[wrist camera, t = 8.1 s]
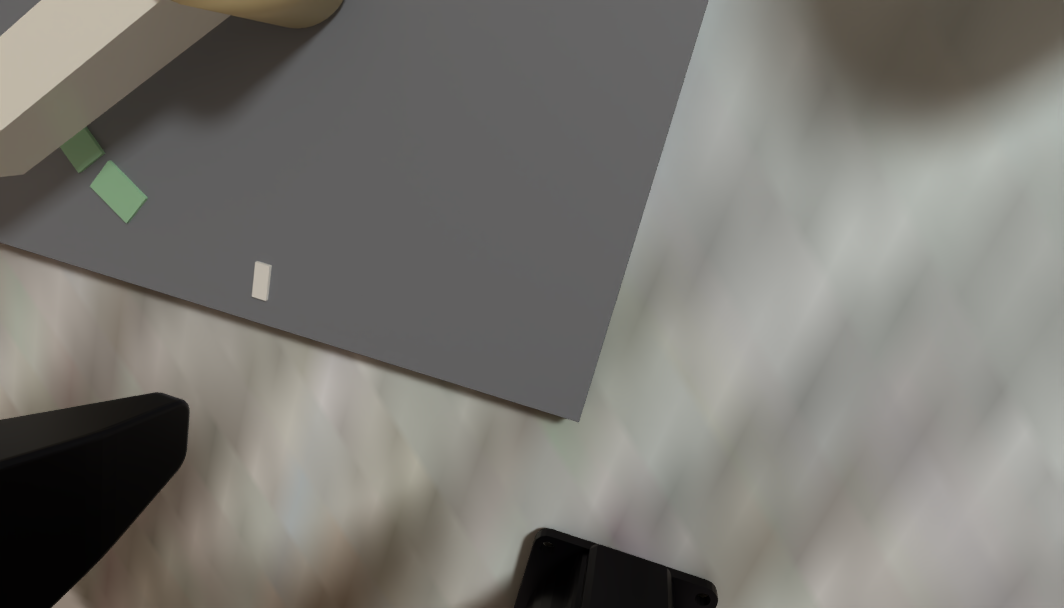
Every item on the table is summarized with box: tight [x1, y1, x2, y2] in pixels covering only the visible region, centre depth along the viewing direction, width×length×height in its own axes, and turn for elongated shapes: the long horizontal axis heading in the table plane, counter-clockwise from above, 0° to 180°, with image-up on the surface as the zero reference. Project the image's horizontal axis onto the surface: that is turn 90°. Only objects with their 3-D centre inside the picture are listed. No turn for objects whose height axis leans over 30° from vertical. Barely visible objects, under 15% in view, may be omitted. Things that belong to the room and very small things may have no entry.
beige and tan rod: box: [0, 0, 343, 177], centre depth 16 cm, size 12×4×4 cm, turn 119°
